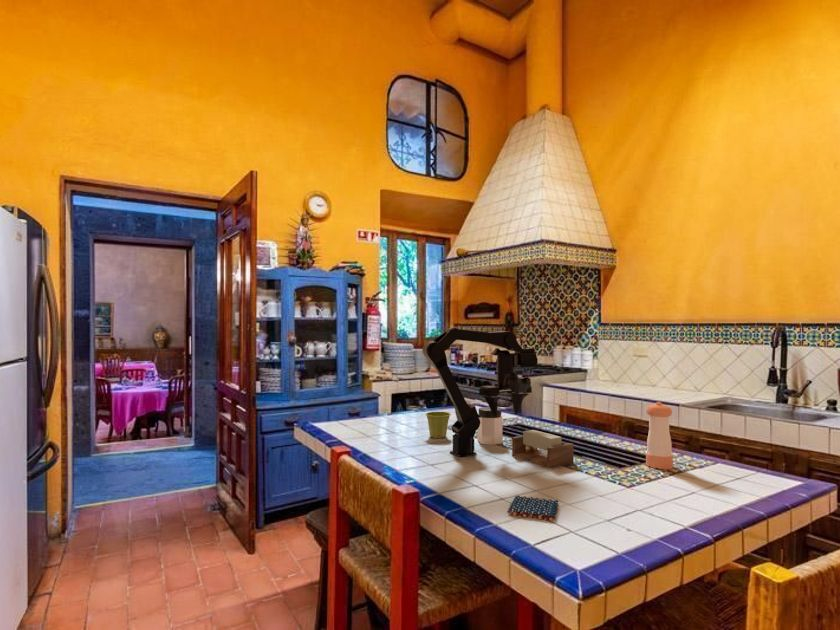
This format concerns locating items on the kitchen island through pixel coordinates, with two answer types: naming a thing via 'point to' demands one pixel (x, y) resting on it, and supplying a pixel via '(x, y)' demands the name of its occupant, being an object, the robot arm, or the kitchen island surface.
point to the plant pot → (438, 423)
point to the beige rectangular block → (540, 439)
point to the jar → (490, 427)
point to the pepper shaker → (659, 437)
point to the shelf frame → (543, 453)
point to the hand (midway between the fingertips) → (505, 415)
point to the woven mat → (533, 508)
